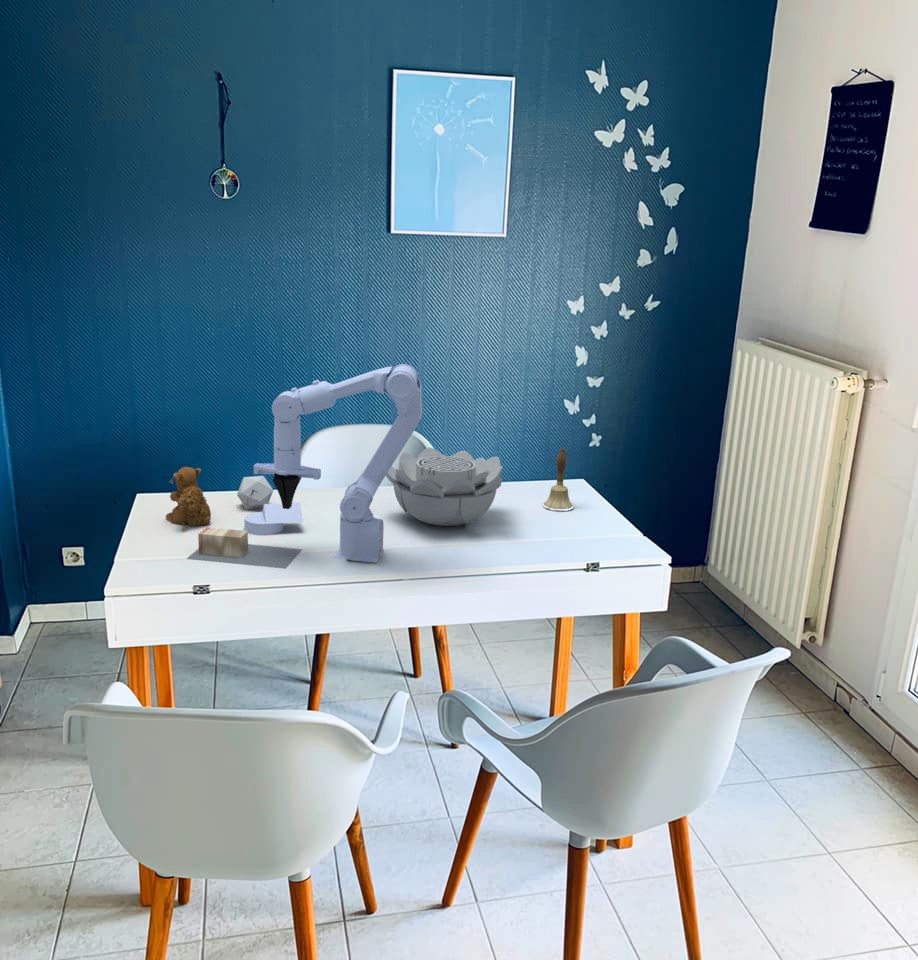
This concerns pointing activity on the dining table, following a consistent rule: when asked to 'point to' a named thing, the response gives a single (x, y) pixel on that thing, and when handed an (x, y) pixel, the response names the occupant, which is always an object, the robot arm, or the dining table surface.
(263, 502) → the die
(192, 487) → the brown furry figure
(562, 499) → the hand bell
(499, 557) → the dining table surface
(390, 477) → the decorative bowl
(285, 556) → the rubber mat
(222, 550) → the maple block
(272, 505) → the wedge on round base
